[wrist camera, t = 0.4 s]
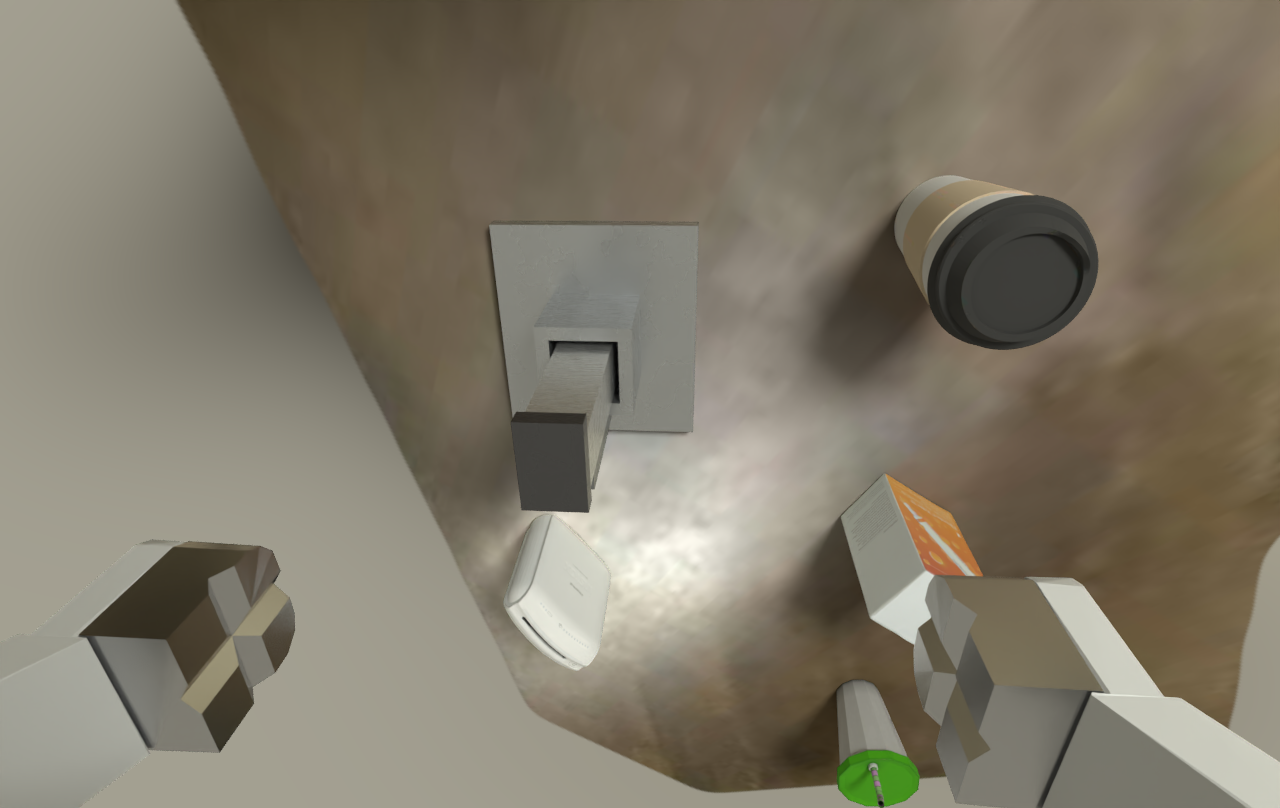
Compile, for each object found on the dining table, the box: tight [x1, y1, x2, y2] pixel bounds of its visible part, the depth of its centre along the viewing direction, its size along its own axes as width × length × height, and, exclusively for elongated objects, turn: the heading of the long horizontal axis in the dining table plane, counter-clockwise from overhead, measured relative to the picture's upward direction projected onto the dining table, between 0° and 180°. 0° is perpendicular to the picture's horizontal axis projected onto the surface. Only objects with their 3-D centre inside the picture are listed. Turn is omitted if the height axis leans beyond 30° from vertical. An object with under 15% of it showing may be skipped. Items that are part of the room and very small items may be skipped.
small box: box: [841, 474, 983, 645], centre depth 57 cm, size 8×6×13 cm
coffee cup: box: [894, 175, 1098, 350], centre depth 43 cm, size 9×9×15 cm
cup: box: [837, 680, 920, 808], centre depth 68 cm, size 8×8×15 cm
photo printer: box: [503, 515, 611, 671], centre depth 63 cm, size 10×4×12 cm, turn 37°
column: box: [511, 341, 619, 513], centre depth 46 cm, size 6×4×19 cm, turn 1°
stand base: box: [489, 221, 699, 489], centre depth 49 cm, size 18×16×16 cm
